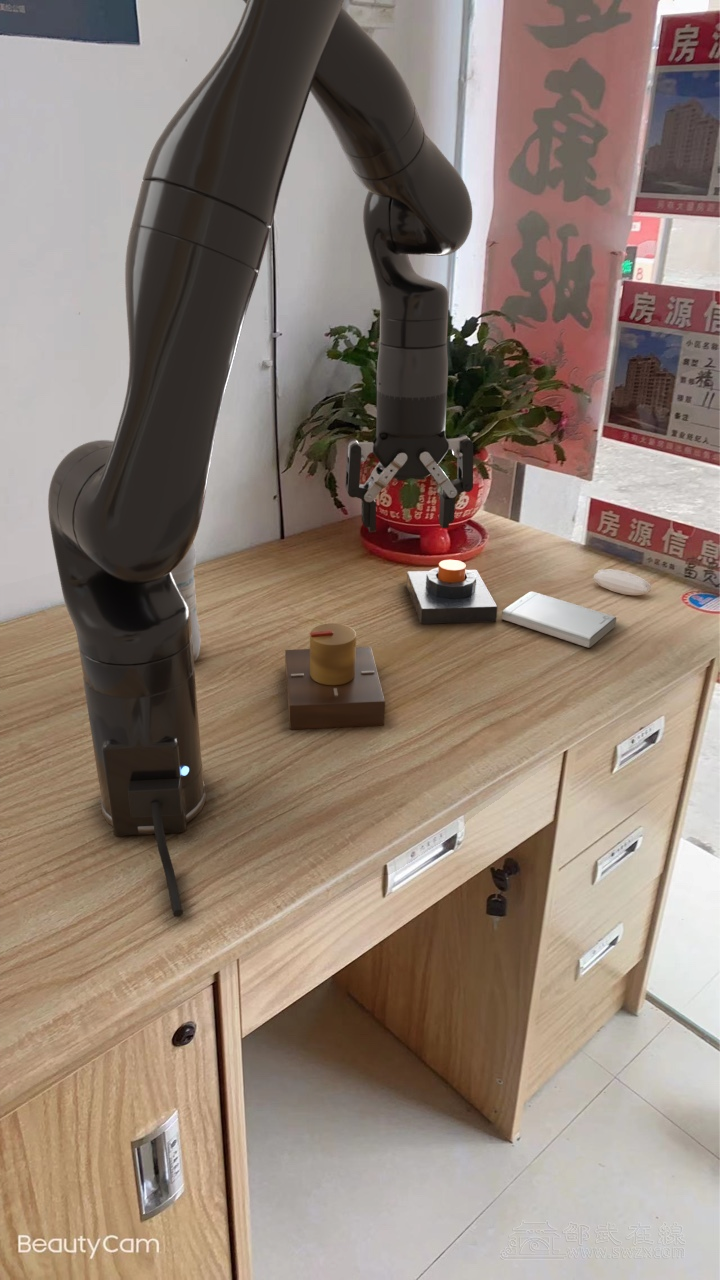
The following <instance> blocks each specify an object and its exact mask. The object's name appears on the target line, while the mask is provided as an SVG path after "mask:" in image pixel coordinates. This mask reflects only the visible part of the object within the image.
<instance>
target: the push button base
mask: <svg viewBox="0 0 720 1280" xmlns="http://www.w3.org/2000/svg"><path fill="white" fill-rule="evenodd" d="M438 569H439V566H438V567H435V568H431V569H430V570H416V571H415V570H414V571H413V570H412V571H411V570H410V571H407V572H406V583H405V584H406V588H407V591H408V593H409V596H410V598H411V602H412V604H413V606H414V610H415V612H416V615H417V618H418V619H419V622H420V624H421V625H431V624H432V625H433V624H459V623H461V624H462V623H489V622H490V623H492V622H493V623H494V622H497V615H498V614H497V613H498V605H497V603H496V602H495V599H494V598H493V596H492V595H491V593H490V591H489V589H488V588H487V585H486V584H485V582H484V580H483V579H482V577H481V575H480V573H479V571H478V570H477V569H465V580H464V581H462V582H459V583H449V582H443V581H441V580H439V579H438Z"/></svg>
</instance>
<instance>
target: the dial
mask: <svg viewBox="0 0 720 1280" xmlns="http://www.w3.org/2000/svg"><path fill="white" fill-rule="evenodd" d="M356 647H357V633H356V631H355V630H354V629H353V628H352V627H350V626H349V625H346V624H343V623H323V624H320V625H317V626H315V627H313V628H312V629H311V630H310V632H309V649H310V676H311V678H312V679H313V680H314V681H316V682H318V683H320V684H324V685H341V684H345V683H348V682H350V681H351V680H352V679H353V678H354V677H355V668H356Z"/></svg>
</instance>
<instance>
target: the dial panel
mask: <svg viewBox="0 0 720 1280" xmlns="http://www.w3.org/2000/svg"><path fill="white" fill-rule="evenodd" d="M284 659H285V681H286V682H285V683H286V695H287V697H286V698H287V708H288V719H289V720H288V722H289V723H288V724H289V730H304V729H305V730H306V729H308V730H309V729H328V728H329V729H330V728H351V727H352V728H353V727H371V726H372V727H374V726H384V725H385V711H386V700H385V697H384V693H383V689H382V684H381V681H380V677H379V673H378V669H377V666H376V661H375V657H374V653H373V650H372V647H371V646H363V647H362V646H359V647H357V646H356V668H355V677H354V678H353V679H352V680H351V681H350V682H348V683H345V684H341V685H324V684H320V683H318V682H316V681H314V680H313V679H312V678H311V676H310V648H302V649H301V648H300V649H299V648H298V649H285V650H284Z"/></svg>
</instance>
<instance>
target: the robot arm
mask: <svg viewBox="0 0 720 1280" xmlns="http://www.w3.org/2000/svg"><path fill="white" fill-rule="evenodd" d="M242 1H243V2H244V4H245V7H244V8H243V9H244V10H243V12H242V14H241V17H240V20H239V22H238V24H237V27H236V29H235V30H234V32H233V35H232V37H231V39H230V40H229V42H228V43H227V46H226V47H225V49H224V50H223V52H222V53H221V55H220V56H219V57H218V59H217V61H216V62H215V63H214V65H213V66H212V68H211V69H210V70H209V71H208V73H207V74H206V75H205V76H204V78H202V79H201V81H200V82H199V84H198V85H197V86H196V87H195V88H194V89H193V91H192V92H191V93H190V94H189V96H188V97H187V98H186V100H185V101H184V102H183V103H182V104H181V106H179V108H178V109H177V111H176V112H175V114H174V115H173V116H172V117H171V119H170V120H169V122H168V123H167V124H166V126H165V128H164V129H163V130H162V132H161V134H160V135H159V136H158V138H157V140H156V141H155V143H154V146H153V148H152V150H151V151H150V154H149V156H148V159H147V163H146V166H145V168H144V172H143V176H142V181H141V184H140V188H139V189H140V190H139V193H138V197H137V201H136V205H135V209H134V213H133V217H132V222H131V226H130V229H129V235H128V240H127V245H126V252H125V263H124V264H125V265H124V266H125V267H124V289H125V307H126V309H125V310H126V319H127V333H128V334H127V336H128V356H129V357H128V358H129V361H128V362H129V363H128V365H129V366H128V379H127V387H126V393H125V398H124V403H123V407H122V411H121V414H120V418H119V421H118V425H117V428H116V433H115V434H114V435H115V436H114V439H113V440H110V439H99V440H97V439H96V440H92V441H88V442H85V443H83V444H80V445H79V446H77V447H75V448H74V449H72V450H71V451H70V452H68V453H67V454H66V455H65V456H64V457H63V458H62V459H61V461H60V462H59V464H57V467H56V468H55V469H54V472H53V474H52V477H51V480H50V483H49V489H48V496H47V497H48V498H47V510H48V521H49V527H50V534H51V540H52V545H53V550H54V556H55V561H56V567H57V572H58V576H59V583H60V587H61V592H62V597H63V601H64V604H65V607H66V610H67V612H68V614H69V617H70V619H71V622H72V623H73V626H74V629H75V633H76V638H77V644H78V651H79V657H80V665H81V671H82V678H83V686H84V692H85V700H86V706H87V707H86V708H87V712H88V713H87V714H88V720H89V727H90V733H91V740H92V747H93V753H94V761H95V767H96V773H97V780H98V785H99V792H100V807H101V813H102V817H103V818H104V819H105V821H106V822H107V823H108V824H110V826H111V827H112V829H113V830H112V831H113V835H114V836H115V837H123V836H124V837H125V836H138V835H139V836H140V835H141V836H142V835H145V836H146V835H155V840H156V846H157V849H158V853H159V857H160V860H161V864H162V868H163V872H164V875H165V879H166V880H165V881H166V884H167V889H168V893H169V898H170V899H169V900H170V904H171V909H172V915H173V916H174V917H175V918H179V917H181V916H182V915H184V911H183V907H182V906H183V905H182V902H181V896H180V891H179V886H178V882H177V878H176V874H175V869H174V866H173V862H172V859H171V855H170V852H169V848H168V844H167V840H166V834H177V833H184V832H185V831H186V829H187V824H188V823H189V822H191V821H192V820H193V819H195V817H197V816H198V815H199V814H200V812H201V811H202V809H203V808H204V806H205V803H206V797H207V796H206V794H207V793H206V785H205V781H204V771H203V770H204V769H203V760H202V748H201V747H202V746H201V736H200V721H199V710H198V698H197V696H198V695H197V686H196V685H197V684H196V675H195V661H194V657H193V644H192V629H191V617H190V610H189V607H188V604H187V602H186V600H185V598H184V596H183V595H182V593H181V591H180V590H179V588H178V586H177V584H176V582H175V580H174V578H173V575H172V573H171V571H172V570H174V569H175V568H176V567H177V566H178V565H179V563H180V562H181V561H182V560H183V559H184V557H185V556H186V554H187V553H188V551H189V549H190V548H191V546H192V544H193V542H194V541H195V539H196V537H197V533H198V530H199V527H200V522H201V520H202V519H201V518H202V514H203V513H202V512H203V510H204V504H205V499H206V492H207V485H208V481H209V473H210V468H211V463H212V456H213V450H214V445H215V439H216V432H217V428H218V423H219V418H220V413H221V409H222V405H223V400H224V397H225V393H226V390H227V387H228V383H229V379H230V376H231V372H232V368H233V363H234V361H235V357H236V353H237V349H238V346H239V341H240V337H241V334H242V331H243V330H242V329H243V326H244V323H245V319H246V314H247V311H248V308H249V305H250V301H251V298H252V296H253V293H254V290H255V289H254V288H255V286H256V284H257V280H258V277H259V274H260V271H261V266H262V263H263V259H264V255H265V252H266V248H267V244H268V241H269V237H270V234H271V230H272V228H273V222H274V218H275V213H276V209H277V205H278V200H279V196H280V193H281V188H282V184H283V181H284V178H285V174H286V171H287V168H288V165H289V161H290V157H291V155H292V151H293V147H294V144H295V141H296V137H297V134H298V131H299V128H300V125H301V122H302V118H303V115H304V111H305V108H306V106H307V102H308V99H309V96H310V94H311V95H312V97H313V98H314V100H315V103H317V105H318V107H319V108H320V111H321V112H322V113H323V115H324V117H325V119H326V120H327V122H328V124H329V126H330V128H331V129H332V131H333V134H334V136H335V137H336V139H337V141H338V144H339V145H340V148H341V150H342V151H343V152H342V153H344V156H345V158H346V159H347V162H348V163H349V165H350V167H351V169H352V171H353V174H354V175H355V177H356V178H357V180H358V182H359V183H360V184H361V186H362V187H363V188H365V189H366V190H367V193H366V195H365V199H364V203H363V208H362V224H363V231H364V236H365V241H366V245H367V250H368V253H369V257H370V260H371V261H370V262H371V265H372V268H373V273H374V274H373V275H374V279H375V283H376V288H377V293H378V299H379V348H378V355H377V364H376V375H375V383H376V431H375V437H374V438H373V441H358V440H357V439H356V438H350V439H349V440H348V441H347V445H346V446H347V448H346V462H345V463H346V464H345V482H344V483H345V484H344V486H345V487H344V488H345V489H346V492H347V494H348V496H349V497H350V498H357V499H360V501H361V521H362V524H363V526H364V528H367V531H368V533H376V532H377V501H376V498H377V496H378V495H379V494H380V493H381V491H382V490H383V489H385V488H386V487H387V486H388V485H389V483H390V482H391V481H392V479H395V480H396V481H399V482H400V481H407V480H410V479H413V480H418V481H419V480H420V481H421V480H425V479H426V478H427V477H429V476H430V475H431V476H432V477H433V479H434V480H435V482H436V483H437V484H438V486H439V487H440V488H441V489H442V491H441V492H439V508H438V524H439V526H440V528H441V529H449V528H450V524H453V522H454V520H455V515H456V514H455V513H456V511H455V510H456V498H457V496H458V495H460V494H462V493H464V492H465V493H469V492H471V491H472V490H473V488H474V443H473V441H472V440H471V438H470V437H468V436H467V434H464V433H462V434H459V436H458V437H455V438H447V436H446V420H447V401H448V400H447V399H448V381H449V379H448V378H449V377H448V376H449V356H448V329H449V328H448V327H449V326H448V325H449V308H450V307H449V306H450V299H449V297H450V296H449V292H448V290H447V289H448V288H447V287H445V285H444V284H442V283H440V282H438V281H435V280H432V279H430V278H427V277H424V276H421V275H420V274H418V273H417V272H416V271H415V270H414V267H413V266H412V263H411V260H410V257H409V255H413V256H414V255H416V256H429V257H430V256H432V257H443V256H449V255H452V254H454V253H456V252H457V251H458V250H460V248H462V247H463V245H464V244H465V242H466V241H467V239H468V237H469V235H470V232H471V228H472V224H473V205H472V200H471V197H470V192H469V190H468V188H467V186H466V183H465V182H464V180H463V178H462V176H461V174H460V173H459V172H458V170H457V169H456V168H455V166H454V165H453V164H452V162H450V161H449V159H448V158H447V157H446V156H445V155H444V154H443V152H442V151H441V150H440V148H439V147H438V146H437V145H436V143H434V142H433V141H432V139H430V137H428V135H427V134H426V132H425V128H424V126H423V123H422V120H421V118H420V116H419V113H418V110H417V108H416V104H415V103H414V100H413V97H412V94H411V92H410V89H409V87H408V85H407V84H406V81H405V80H404V78H403V76H402V75H401V73H400V71H399V70H398V68H397V66H396V65H395V64H394V62H393V61H392V60H391V58H390V57H389V55H388V54H387V53H386V52H385V51H384V50H383V49H382V47H380V45H379V44H378V43H377V42H376V41H375V40H374V39H373V37H371V36H370V34H368V32H367V31H366V30H365V29H364V28H363V27H362V26H361V25H360V24H359V23H358V22H357V21H356V20H355V19H354V17H352V16H351V14H350V13H349V12H348V11H347V10H346V9H345V8H344V6H343V5H344V1H345V0H242ZM449 450H450V451H451V453H452V455H453V456H454V457H455V458H456V459H457V478H456V479H452V480H450V479H449V477H448V475H446V473H445V472H444V471H443V469H442V468H441V467H440V465H439V464H440V462H441V461H442V460H443V459H444V457H445V456H446V454H447V453H448V451H449ZM372 453H373V455H374V456H375V458H376V459H377V460H378V463H377V464H376V466H375V467H374V468H373V469H372V471H371V473H370V476H369V477H368V479H367V480H366V481H365V482H364V483H363V484H361V483H360V480H361V479H360V478H361V466H362V465H361V464H363V463H365V462H366V461H368V456H369V455H371V454H372Z"/></svg>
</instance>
